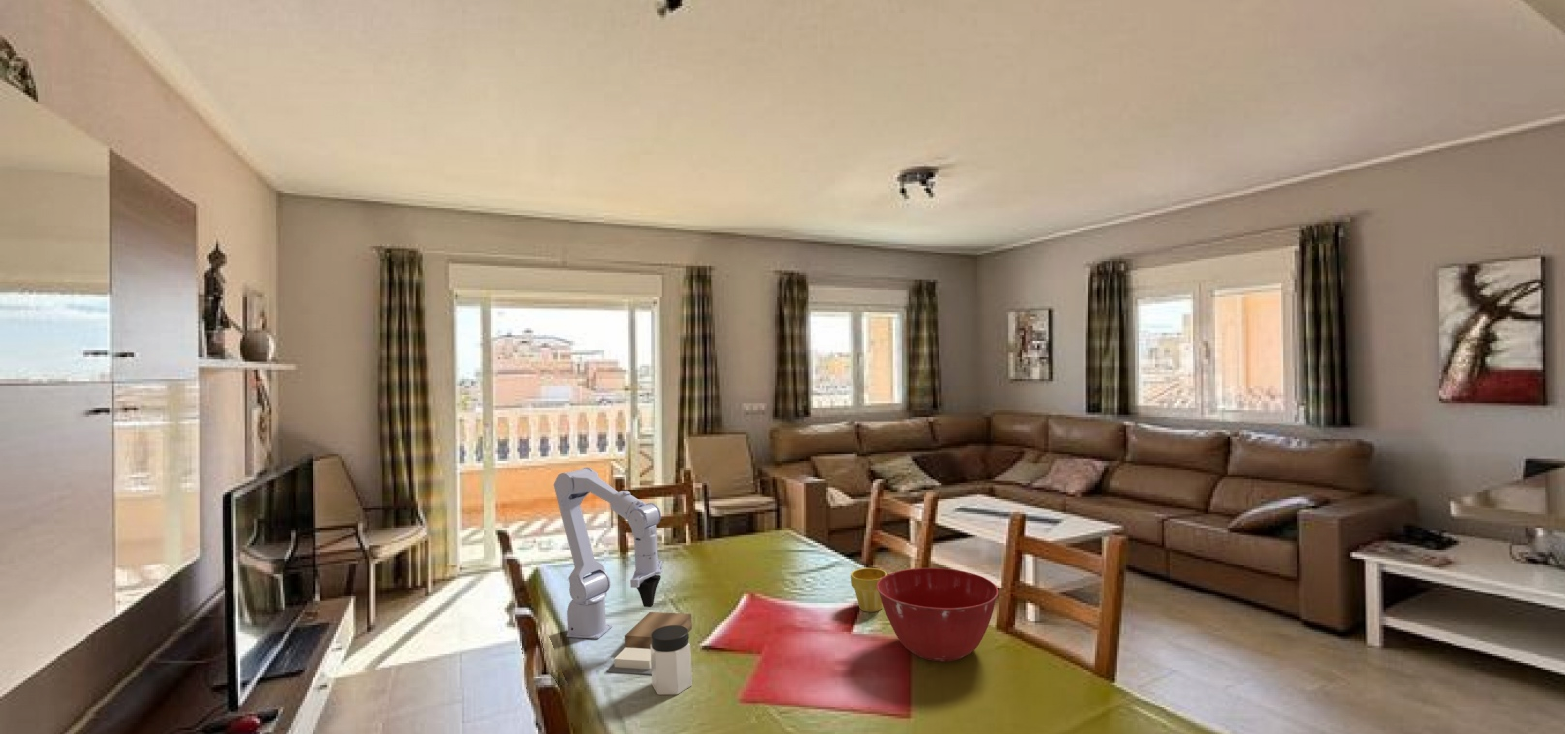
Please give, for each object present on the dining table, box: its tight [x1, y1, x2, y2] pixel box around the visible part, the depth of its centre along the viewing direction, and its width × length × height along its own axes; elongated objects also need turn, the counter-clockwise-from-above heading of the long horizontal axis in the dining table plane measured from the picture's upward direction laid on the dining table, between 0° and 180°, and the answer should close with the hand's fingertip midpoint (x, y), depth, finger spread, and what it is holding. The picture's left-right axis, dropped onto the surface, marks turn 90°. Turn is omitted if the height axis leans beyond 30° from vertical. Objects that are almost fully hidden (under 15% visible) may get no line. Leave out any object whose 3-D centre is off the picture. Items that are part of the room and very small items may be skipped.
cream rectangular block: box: [613, 647, 652, 670], centre depth 153 cm, size 9×6×2 cm, turn 78°
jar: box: [650, 625, 693, 696], centre depth 142 cm, size 9×8×12 cm
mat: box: [606, 663, 652, 676], centre depth 153 cm, size 12×10×1 cm
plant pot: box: [850, 567, 888, 613], centre depth 181 cm, size 10×10×10 cm
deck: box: [624, 611, 693, 649], centre depth 166 cm, size 12×15×4 cm
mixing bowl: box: [877, 567, 999, 662], centre depth 154 cm, size 28×28×15 cm
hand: (648, 605), depth 162 cm, fingers closed
